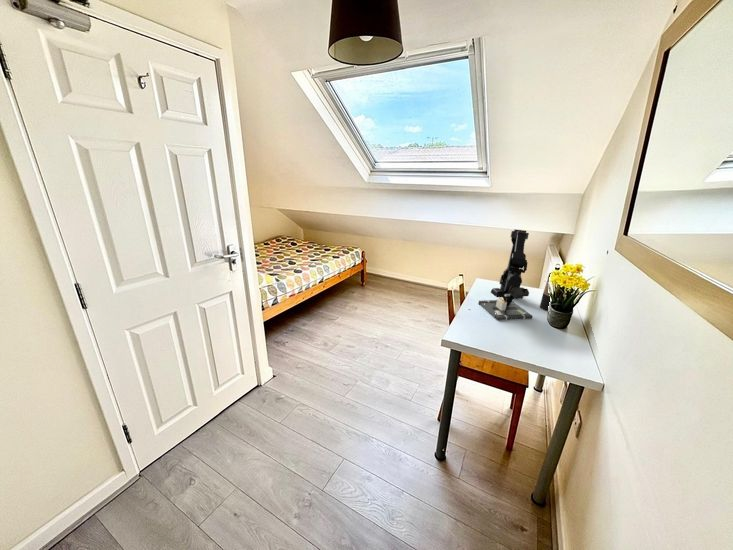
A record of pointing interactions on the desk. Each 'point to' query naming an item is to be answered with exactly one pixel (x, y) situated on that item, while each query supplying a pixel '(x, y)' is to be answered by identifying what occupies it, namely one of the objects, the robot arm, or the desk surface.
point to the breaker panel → (510, 310)
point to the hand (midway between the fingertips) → (506, 306)
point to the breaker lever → (501, 304)
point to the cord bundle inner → (487, 301)
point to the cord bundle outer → (514, 317)
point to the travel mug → (545, 297)
